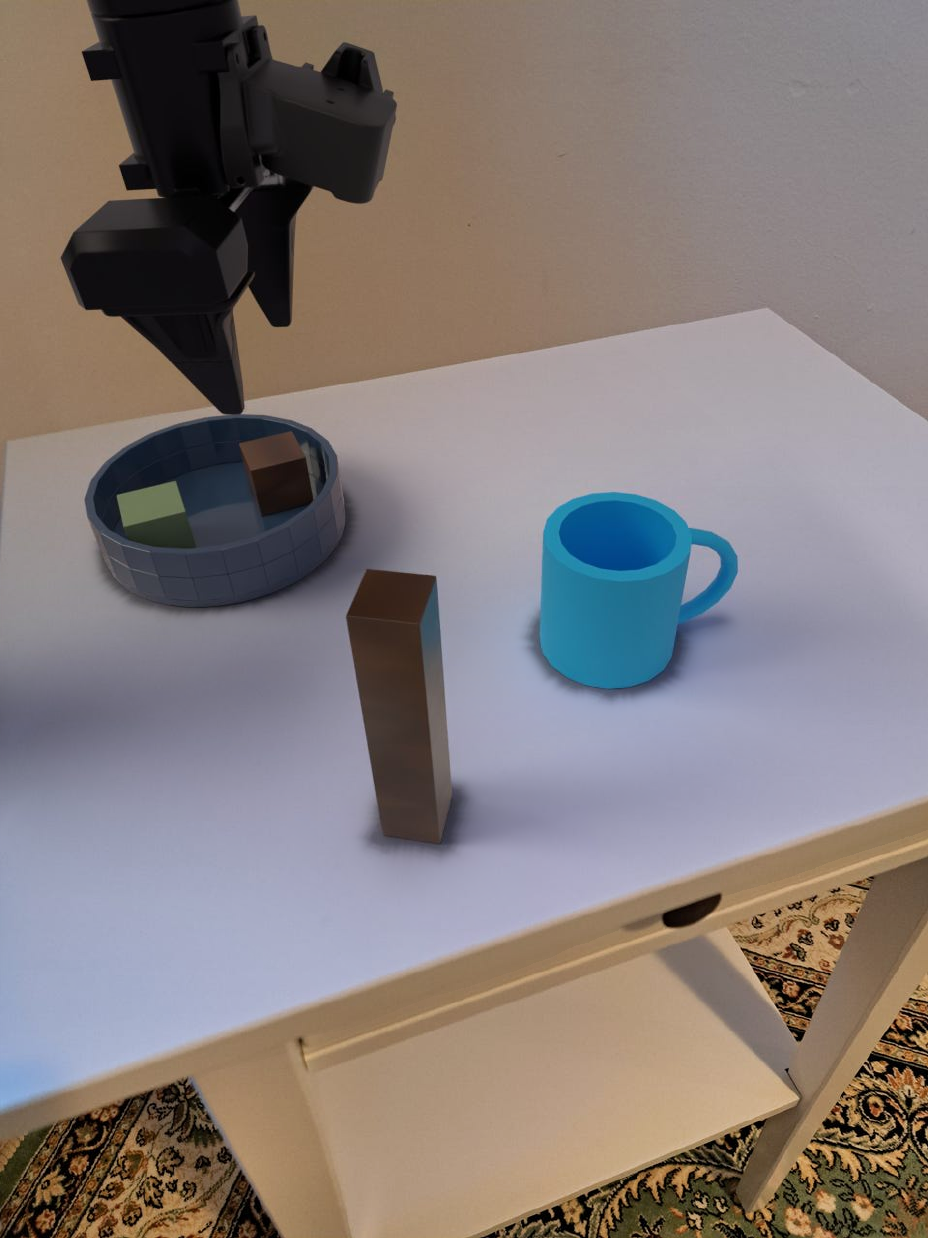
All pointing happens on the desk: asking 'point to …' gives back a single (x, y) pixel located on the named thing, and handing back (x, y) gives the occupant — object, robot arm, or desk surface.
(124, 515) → the sage cube
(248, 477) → the walnut cube
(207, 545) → the bowl
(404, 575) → the stick
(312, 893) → the desk surface
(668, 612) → the mug
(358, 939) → the desk surface
